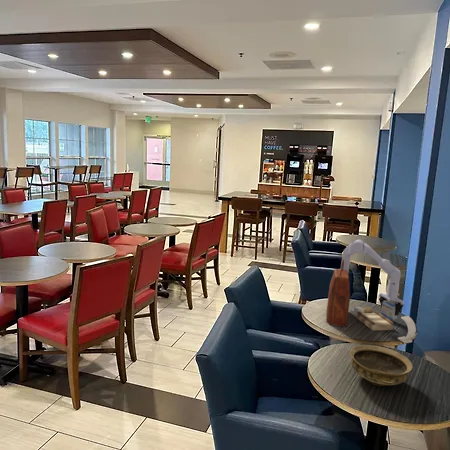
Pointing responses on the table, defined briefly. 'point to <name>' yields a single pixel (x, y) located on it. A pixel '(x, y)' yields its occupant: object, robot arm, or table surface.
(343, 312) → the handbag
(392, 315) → the medicine box
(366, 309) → the bronze cube
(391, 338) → the table surface
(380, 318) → the sweep station
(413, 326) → the headphone stand
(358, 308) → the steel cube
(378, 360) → the ceramic bowl
